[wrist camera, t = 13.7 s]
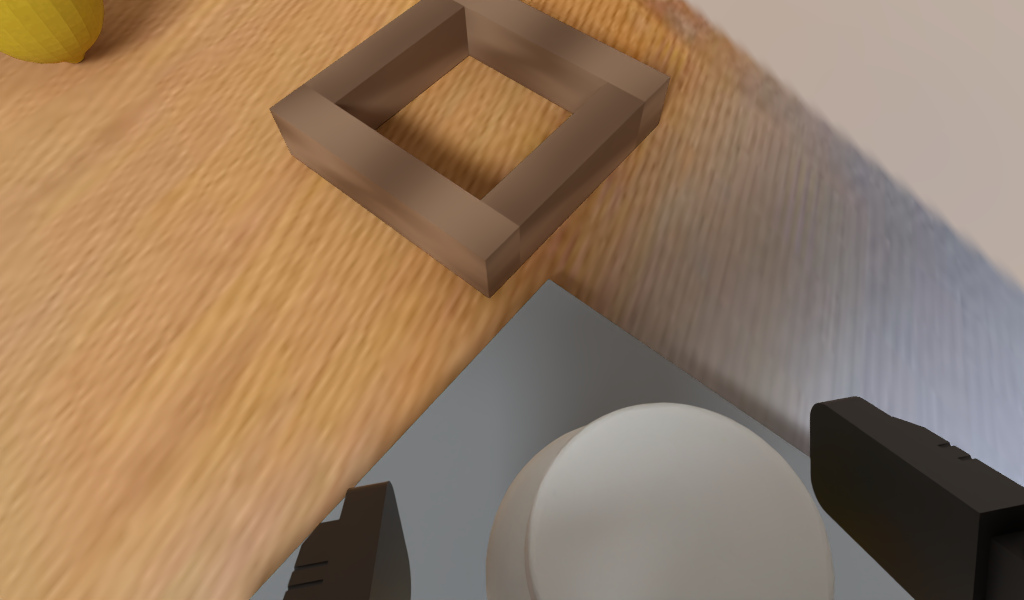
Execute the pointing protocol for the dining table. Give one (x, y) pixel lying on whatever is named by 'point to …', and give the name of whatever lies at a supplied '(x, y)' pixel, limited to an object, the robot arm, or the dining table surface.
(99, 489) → the dining table surface
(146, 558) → the dining table surface
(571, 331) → the slate board
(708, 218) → the dining table surface
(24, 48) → the lemon
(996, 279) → the dining table surface
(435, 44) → the walnut holder
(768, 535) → the supplement bottle
